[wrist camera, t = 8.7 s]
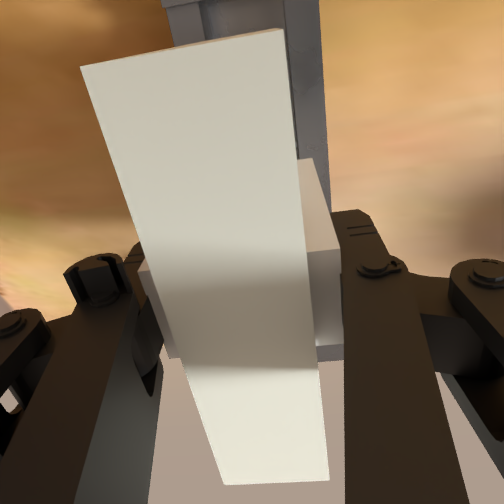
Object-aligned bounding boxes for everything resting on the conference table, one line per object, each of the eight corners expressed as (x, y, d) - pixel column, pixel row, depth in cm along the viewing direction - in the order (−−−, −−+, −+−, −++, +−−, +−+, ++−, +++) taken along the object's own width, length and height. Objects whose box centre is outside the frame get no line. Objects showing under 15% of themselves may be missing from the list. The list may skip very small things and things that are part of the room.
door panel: (196, 42, 16) (60, 69, 6) (275, 28, 16) (283, 29, 5) (241, 264, 21) (214, 485, 11) (300, 257, 21) (329, 480, 11)
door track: (174, -23, 20) (89, -66, 11) (307, -51, 19) (340, -123, 10) (234, 258, 28) (215, 370, 19) (328, 247, 27) (356, 359, 18)
